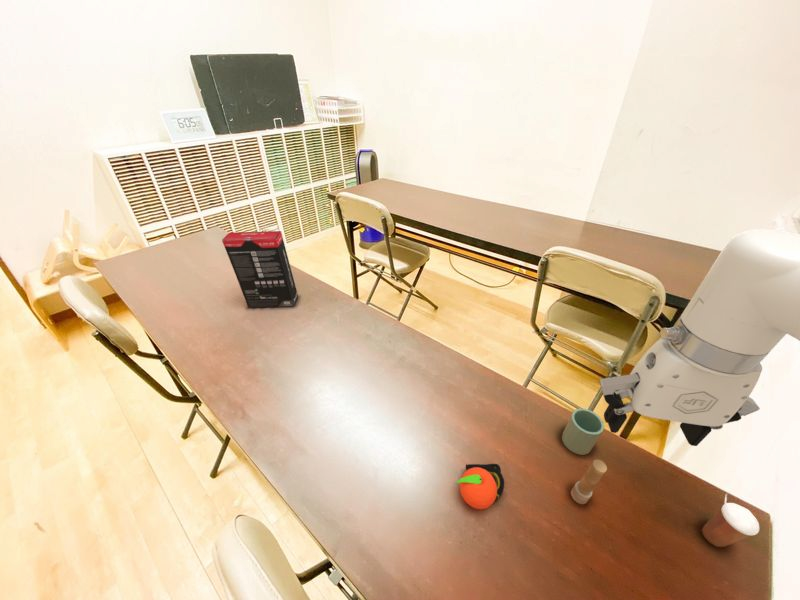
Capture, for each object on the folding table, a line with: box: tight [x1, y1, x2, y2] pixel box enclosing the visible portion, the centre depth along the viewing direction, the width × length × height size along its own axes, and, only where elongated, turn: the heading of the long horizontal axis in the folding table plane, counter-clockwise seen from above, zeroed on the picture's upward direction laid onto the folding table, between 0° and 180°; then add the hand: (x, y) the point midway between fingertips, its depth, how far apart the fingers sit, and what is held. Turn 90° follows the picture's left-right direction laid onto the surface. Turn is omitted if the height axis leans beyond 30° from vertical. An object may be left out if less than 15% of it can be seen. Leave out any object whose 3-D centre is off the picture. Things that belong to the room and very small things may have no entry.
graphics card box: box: [221, 230, 299, 309], centre depth 109 cm, size 17×7×27 cm, turn 92°
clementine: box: [454, 467, 497, 510], centre depth 61 cm, size 8×7×7 cm
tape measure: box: [465, 463, 505, 503], centre depth 64 cm, size 7×7×4 cm
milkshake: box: [701, 493, 760, 548], centre depth 54 cm, size 5×5×10 cm
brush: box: [570, 459, 608, 505], centre depth 59 cm, size 3×3×12 cm
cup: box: [561, 408, 605, 456], centre depth 69 cm, size 6×6×8 cm
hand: (648, 429), depth 46 cm, fingers open, 9 cm apart
